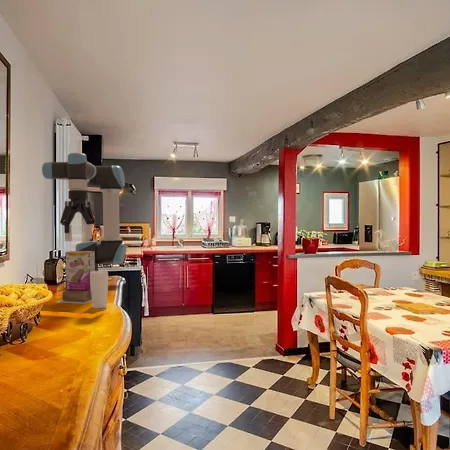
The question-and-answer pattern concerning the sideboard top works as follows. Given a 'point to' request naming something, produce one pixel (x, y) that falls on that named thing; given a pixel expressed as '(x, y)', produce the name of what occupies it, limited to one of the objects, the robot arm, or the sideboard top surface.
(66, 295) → the walnut block
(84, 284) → the candy bar box
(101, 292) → the drinking glass
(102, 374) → the sideboard top surface
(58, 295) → the sideboard top surface
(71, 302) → the board
